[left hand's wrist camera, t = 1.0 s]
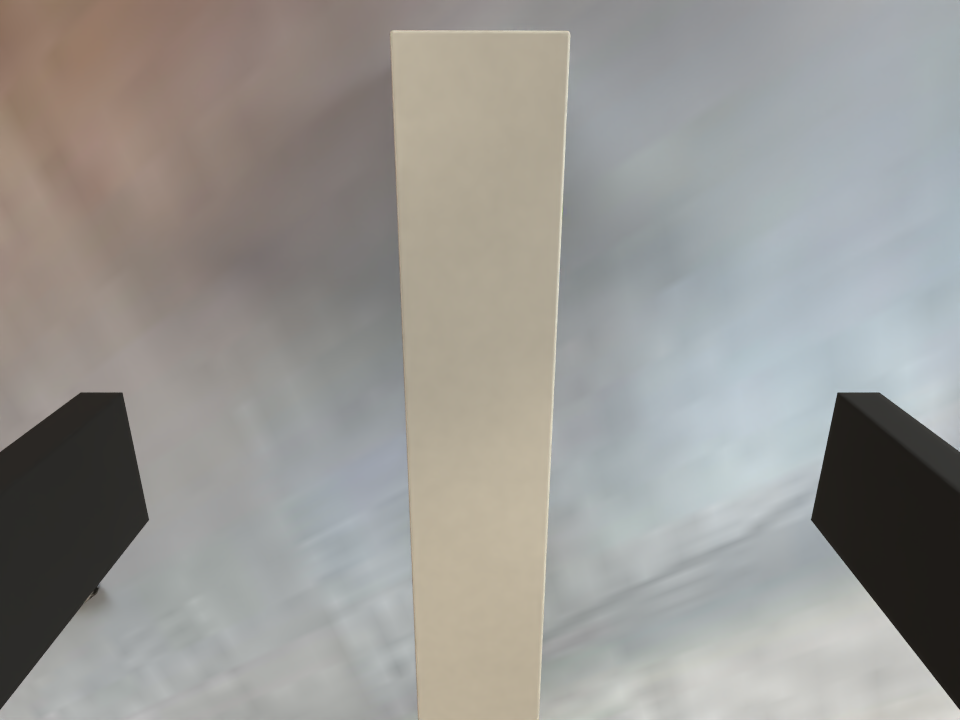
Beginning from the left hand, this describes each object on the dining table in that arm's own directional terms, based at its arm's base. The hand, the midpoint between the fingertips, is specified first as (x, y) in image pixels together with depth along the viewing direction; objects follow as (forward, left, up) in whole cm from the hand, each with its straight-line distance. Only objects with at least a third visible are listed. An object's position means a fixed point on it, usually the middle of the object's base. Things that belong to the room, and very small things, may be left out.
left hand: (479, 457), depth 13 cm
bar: (+16, +11, -16) cm, 25 cm away
